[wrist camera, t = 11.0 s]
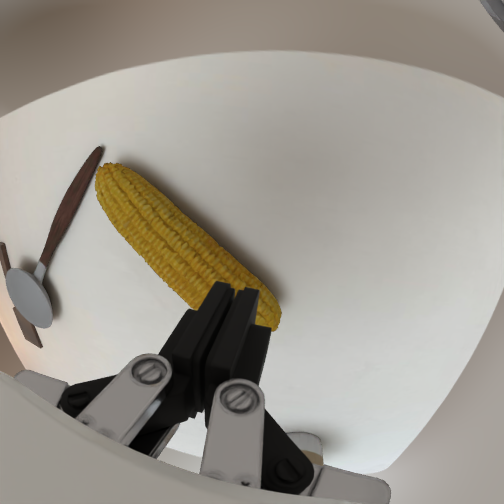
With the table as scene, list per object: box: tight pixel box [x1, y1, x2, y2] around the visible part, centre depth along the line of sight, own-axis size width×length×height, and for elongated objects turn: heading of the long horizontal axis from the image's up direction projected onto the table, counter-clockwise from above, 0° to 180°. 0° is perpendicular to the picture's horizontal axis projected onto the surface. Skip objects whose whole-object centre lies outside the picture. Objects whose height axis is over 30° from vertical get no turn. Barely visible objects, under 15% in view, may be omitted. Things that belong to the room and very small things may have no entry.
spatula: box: [0, 242, 43, 348], centre depth 38 cm, size 22×6×1 cm, turn 174°
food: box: [95, 162, 282, 332], centre depth 24 cm, size 21×6×6 cm, turn 49°
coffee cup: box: [286, 432, 324, 466], centre depth 31 cm, size 11×11×15 cm
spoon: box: [6, 146, 102, 328], centre depth 30 cm, size 11×33×3 cm, turn 135°
